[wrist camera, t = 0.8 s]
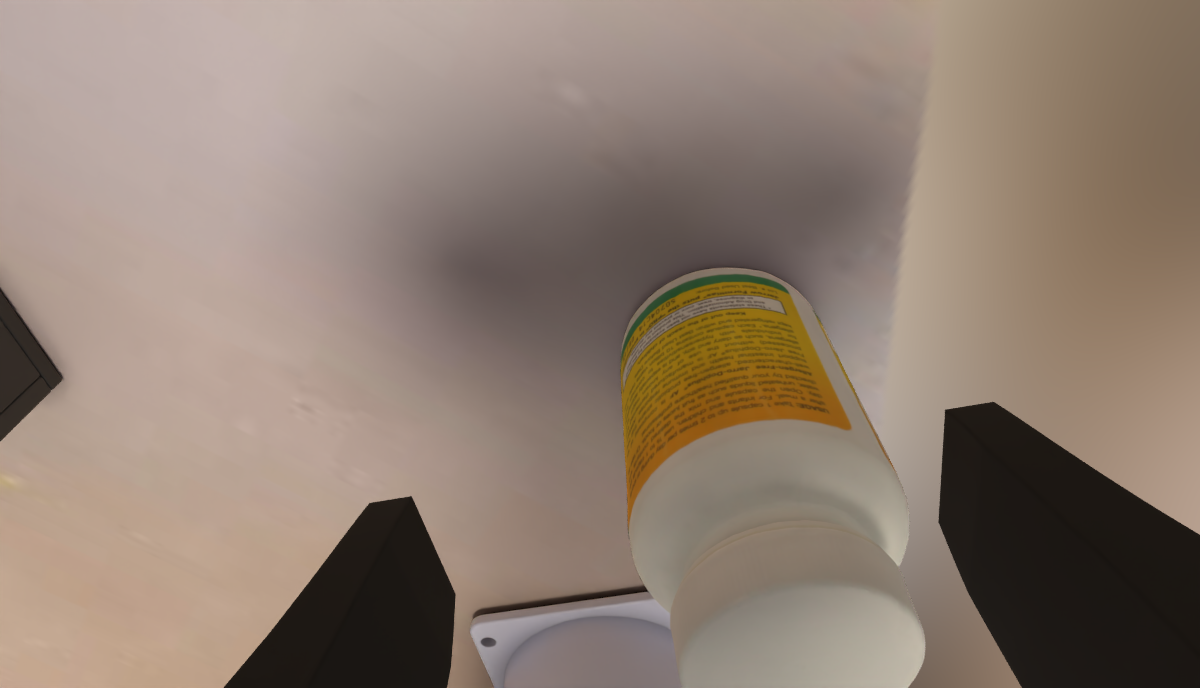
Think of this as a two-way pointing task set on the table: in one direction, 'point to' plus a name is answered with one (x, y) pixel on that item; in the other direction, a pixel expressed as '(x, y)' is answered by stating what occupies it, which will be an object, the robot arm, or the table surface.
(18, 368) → the open black bin
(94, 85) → the table surface
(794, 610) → the supplement bottle
